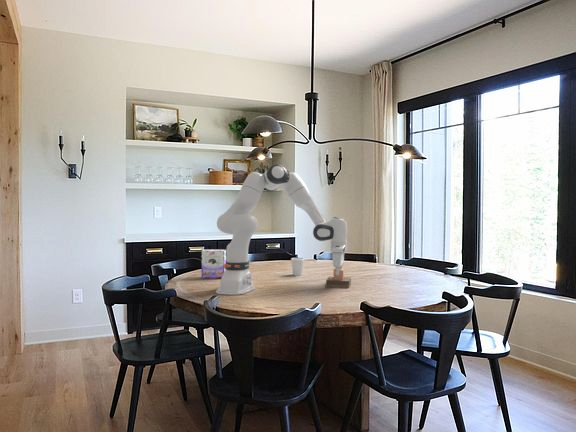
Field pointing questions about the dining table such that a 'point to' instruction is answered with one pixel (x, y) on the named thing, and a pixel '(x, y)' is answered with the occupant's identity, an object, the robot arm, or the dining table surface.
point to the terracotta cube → (340, 276)
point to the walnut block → (338, 282)
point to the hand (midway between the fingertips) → (338, 273)
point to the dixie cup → (297, 266)
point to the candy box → (213, 263)
